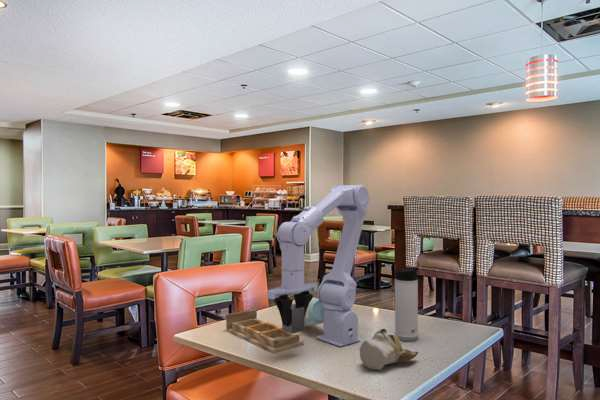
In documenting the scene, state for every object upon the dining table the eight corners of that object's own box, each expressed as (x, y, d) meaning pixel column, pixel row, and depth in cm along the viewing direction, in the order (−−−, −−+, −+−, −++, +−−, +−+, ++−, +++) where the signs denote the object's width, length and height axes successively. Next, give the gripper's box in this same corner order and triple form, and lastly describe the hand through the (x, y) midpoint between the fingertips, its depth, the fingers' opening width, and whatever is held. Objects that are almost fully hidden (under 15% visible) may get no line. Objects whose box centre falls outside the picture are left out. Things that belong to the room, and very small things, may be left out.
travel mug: (419, 342, 118) (419, 269, 118) (395, 341, 119) (395, 268, 119) (418, 335, 124) (418, 266, 124) (394, 334, 126) (394, 265, 126)
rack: (303, 344, 117) (303, 326, 117) (273, 353, 110) (273, 333, 110) (254, 324, 135) (254, 308, 135) (226, 331, 129) (226, 314, 129)
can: (304, 298, 136) (321, 292, 126) (318, 316, 136) (336, 311, 126) (289, 313, 133) (305, 308, 122) (303, 331, 132) (321, 328, 122)
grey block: (304, 330, 109) (304, 306, 109) (291, 333, 106) (291, 309, 106) (294, 327, 112) (294, 303, 112) (282, 330, 109) (282, 306, 109)
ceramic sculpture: (347, 328, 102) (384, 319, 112) (346, 365, 102) (383, 353, 112) (385, 339, 94) (421, 329, 105) (383, 379, 94) (420, 365, 104)
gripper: (304, 264, 116) (305, 315, 117) (260, 270, 107) (260, 325, 107) (322, 267, 111) (322, 320, 111) (276, 274, 102) (277, 331, 102)
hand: (293, 323), depth 109 cm, fingers closed on grey block, 4 cm apart
